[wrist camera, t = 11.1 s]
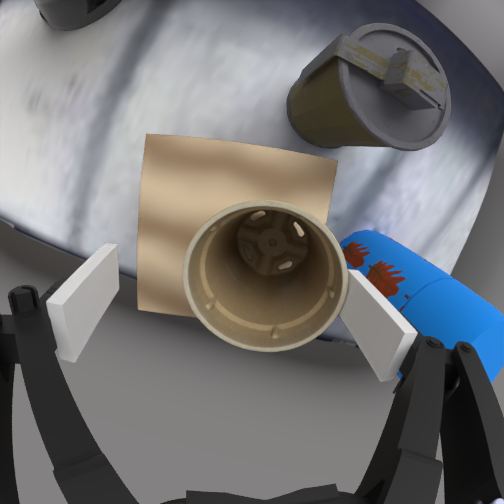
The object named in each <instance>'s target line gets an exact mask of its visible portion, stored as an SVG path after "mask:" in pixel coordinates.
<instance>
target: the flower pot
mask: <svg viewBox="0 0 504 504" xmlns="http://www.w3.org/2000/svg"><path fill="white" fill-rule="evenodd" d="M259 211H264V212H265V215H263V216H261V217H259V218H257V219H256V220H254V221H252V220H251V217H252V216H253V215H254V214H255V213H257V212H259ZM295 222H296V223H297V224H298V225H299V226H300V227H301V229H302V230H303V232H304V235H303V236H299V234H298V231H297V229H296V227H295V226H294V223H295ZM271 240H273V241H275V244H274V245H270V241H271ZM245 248H247V250H248V251H249V252H251V253H250V255H251V257H252V258H251V259H249V258H248V257H247V255H246V253H245V251H244V249H245ZM289 261H291V262H292V265H291V266H290V267H288V268H284V269H279V266H280V265H282V264H284V263H286V262H289ZM182 274H183V275H182V278H183V285H184V290H185V294H186V297H187V300H188V302H189V304H190V306H191V309H192V310H193V311H194V313H195V315H196V317H198V319H199V320H200V321H201V322H202V323H203V324H204V325H205V326H206V327H207V328H208V329H209V330H210V331H211V332H213V333H214V334H215V335H217V336H218V337H219V338H221V339H223V340H224V341H226V342H228V343H230V344H233V345H235V346H238V347H240V348H244V349H248V350H253V351H260V352H278V351H284V350H289V349H293V348H296V347H299V346H301V345H304V344H305V343H307V342H309V341H311V340H313V339H314V338H316V337H317V336H319V335H320V334H322V333H323V332H324V331H325V330H326V328H327V327H328V326H330V325H331V323H332V322H333V321H334V320H335V318H336V317H337V316H338V314H339V312H340V310H341V308H342V306H343V303H344V301H345V298H346V294H347V288H348V270H347V264H346V261H345V258H344V254H343V252H342V249H341V247H340V245H339V243H338V241H337V240H336V238H335V237H334V235H333V234H332V233H331V231H330V230H329V229H328V228H327V227H326V226H325V225H324V224H323V223H322V222H321V221H320V220H319V219H317V218H316V217H315V216H313V215H312V214H310V213H309V212H307V211H305V210H304V209H301V208H299V207H297V206H295V205H292V204H289V203H285V202H280V201H273V200H253V201H247V202H242V203H238V204H235V205H232V206H230V207H227V208H225V209H223V210H222V211H220V212H218V213H217V214H215V215H214V216H212V217H211V218H210V219H209V220H207V221H206V222H205V223H204V224H203V225H202V226H201V227H200V229H199V230H198V231H197V232H196V233H195V235H194V237H193V238H192V240H191V242H190V244H189V246H188V248H187V250H186V254H185V258H184V263H183V272H182Z"/></svg>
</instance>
